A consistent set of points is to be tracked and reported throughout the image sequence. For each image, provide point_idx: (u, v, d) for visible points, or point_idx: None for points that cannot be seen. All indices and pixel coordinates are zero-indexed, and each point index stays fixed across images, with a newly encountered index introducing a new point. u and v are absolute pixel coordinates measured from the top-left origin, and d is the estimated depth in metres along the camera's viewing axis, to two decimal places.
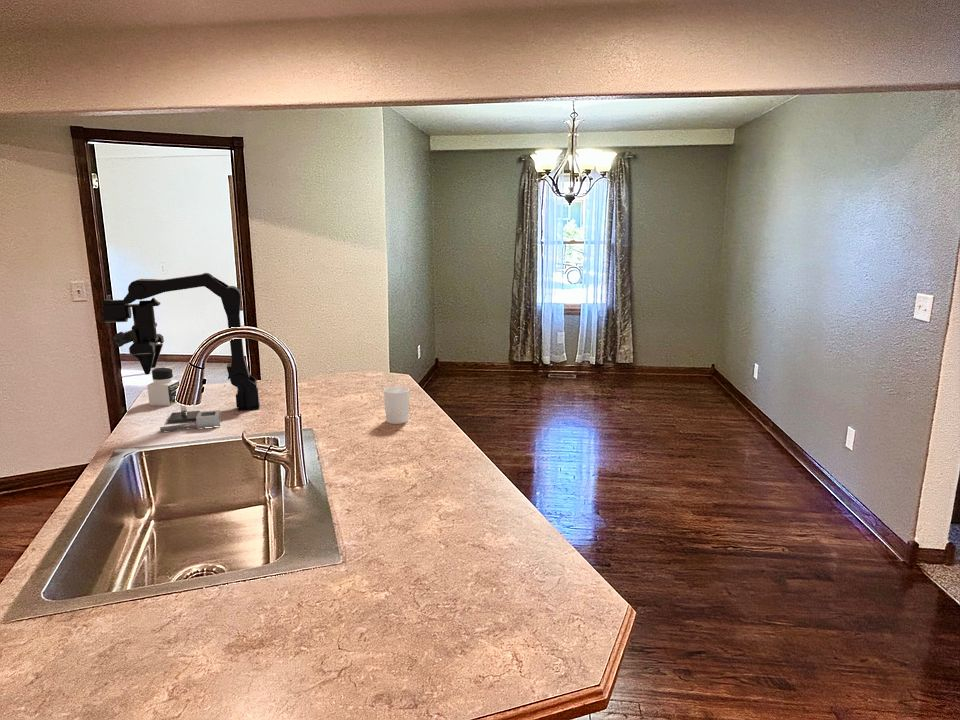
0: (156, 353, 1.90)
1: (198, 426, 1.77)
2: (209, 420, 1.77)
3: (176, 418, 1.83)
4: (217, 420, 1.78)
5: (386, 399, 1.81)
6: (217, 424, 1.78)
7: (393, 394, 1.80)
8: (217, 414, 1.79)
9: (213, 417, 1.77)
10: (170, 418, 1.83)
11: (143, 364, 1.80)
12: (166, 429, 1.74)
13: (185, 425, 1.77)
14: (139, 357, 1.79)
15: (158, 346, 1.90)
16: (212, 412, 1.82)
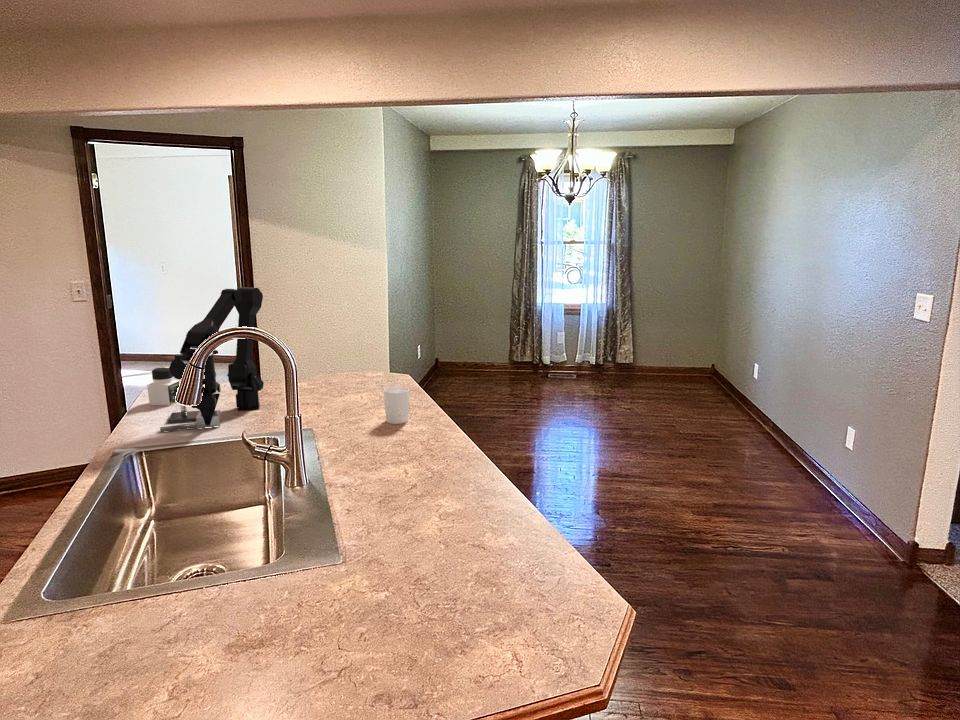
0: None
1: (198, 426, 1.77)
2: None
3: (176, 418, 1.83)
4: (217, 420, 1.78)
5: (386, 399, 1.81)
6: (217, 424, 1.78)
7: (393, 394, 1.80)
8: (217, 414, 1.79)
9: (213, 417, 1.77)
10: (170, 418, 1.83)
11: (204, 415, 1.75)
12: (166, 429, 1.74)
13: (185, 425, 1.77)
14: (201, 408, 1.74)
15: (215, 396, 1.83)
16: None
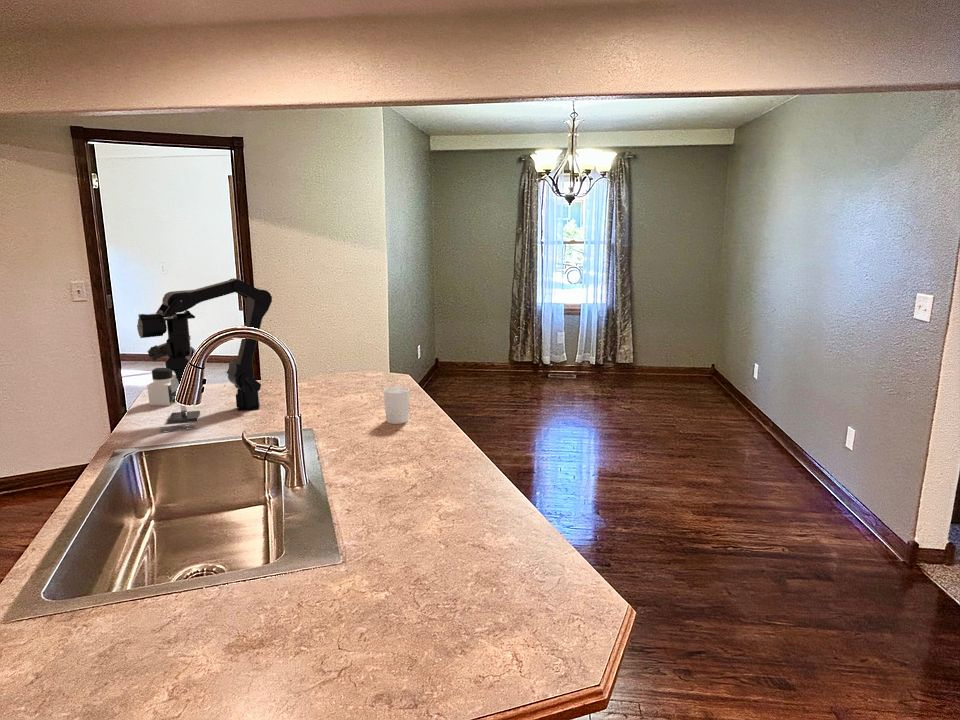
0: None
1: (172, 388, 1.80)
2: None
3: (176, 418, 1.83)
4: None
5: (386, 399, 1.81)
6: None
7: (393, 394, 1.80)
8: None
9: None
10: (170, 418, 1.83)
11: (179, 377, 1.79)
12: (166, 429, 1.74)
13: (185, 425, 1.77)
14: (175, 370, 1.77)
15: None
16: None
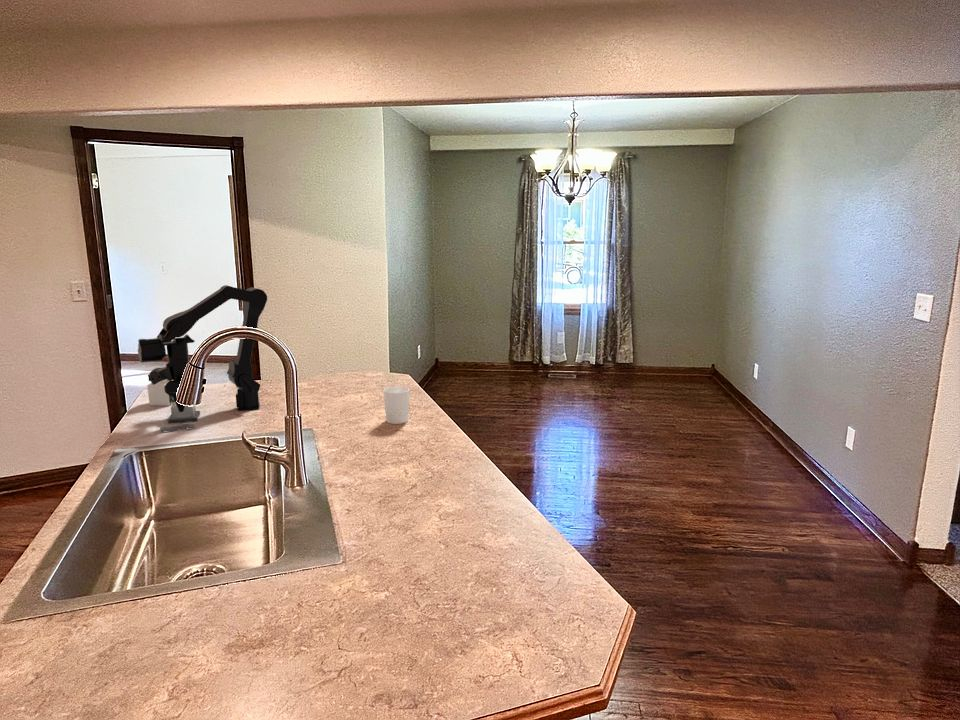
0: None
1: (173, 416, 1.83)
2: None
3: None
4: (191, 410, 1.84)
5: (386, 399, 1.81)
6: (191, 414, 1.84)
7: (393, 394, 1.80)
8: None
9: (187, 407, 1.84)
10: (170, 418, 1.83)
11: None
12: (166, 429, 1.74)
13: (185, 425, 1.77)
14: (174, 395, 1.78)
15: None
16: None
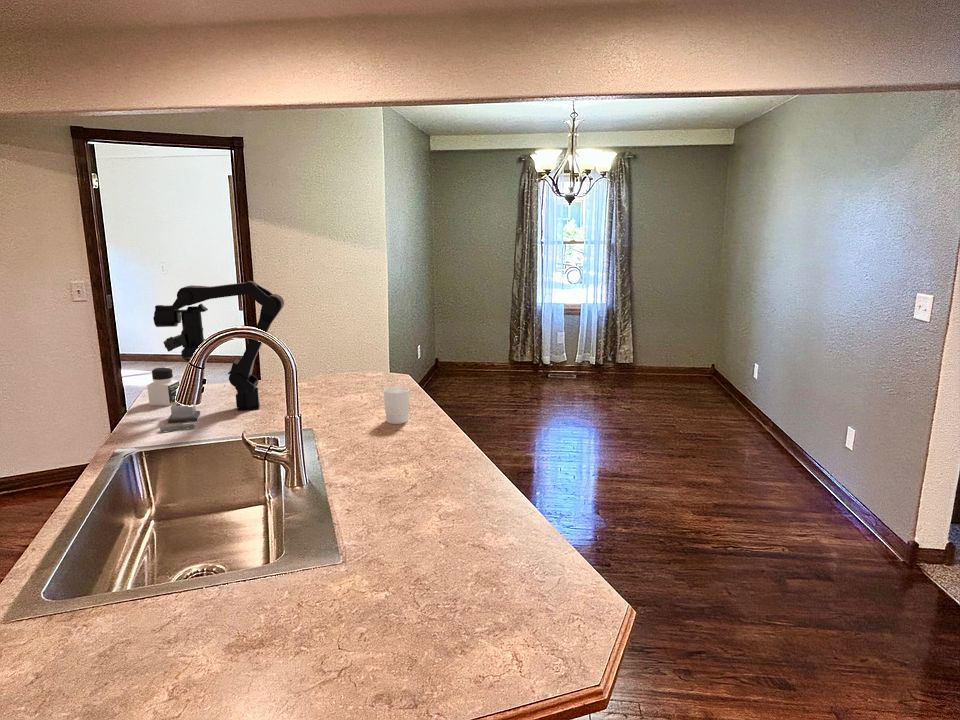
0: None
1: (173, 416, 1.83)
2: (183, 410, 1.83)
3: None
4: (191, 410, 1.84)
5: (386, 399, 1.81)
6: (191, 414, 1.84)
7: (393, 394, 1.80)
8: None
9: (187, 407, 1.84)
10: (170, 418, 1.83)
11: None
12: (166, 429, 1.74)
13: (185, 425, 1.77)
14: None
15: None
16: None
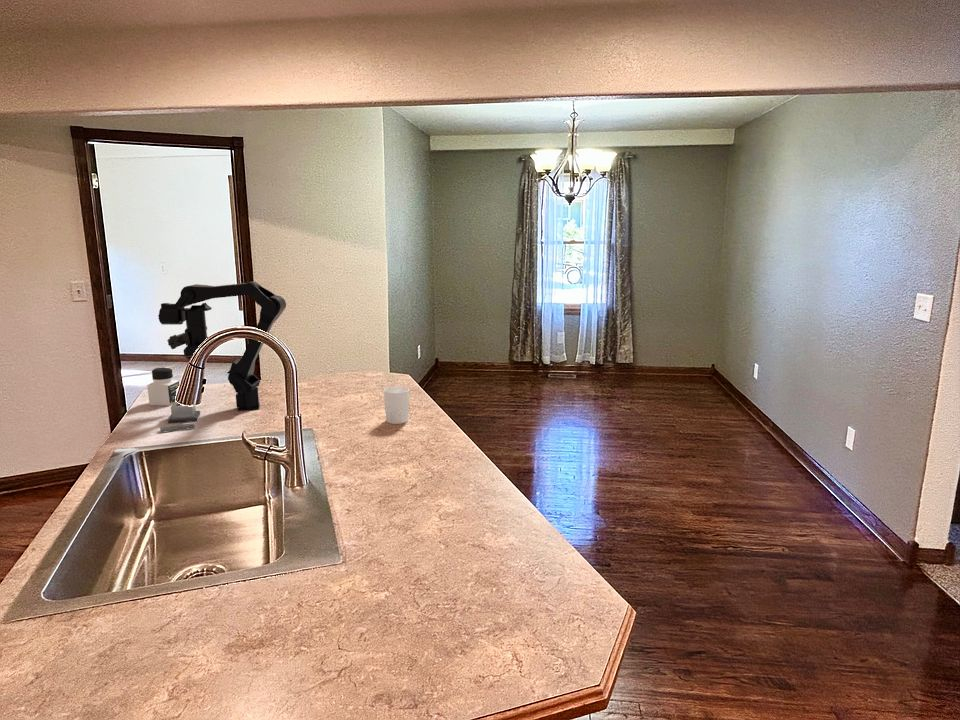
0: None
1: (173, 416, 1.83)
2: (183, 410, 1.83)
3: None
4: (191, 410, 1.84)
5: (386, 399, 1.81)
6: (191, 414, 1.84)
7: (393, 394, 1.80)
8: None
9: (187, 407, 1.84)
10: (170, 418, 1.83)
11: None
12: (166, 429, 1.74)
13: (185, 425, 1.77)
14: None
15: None
16: None
